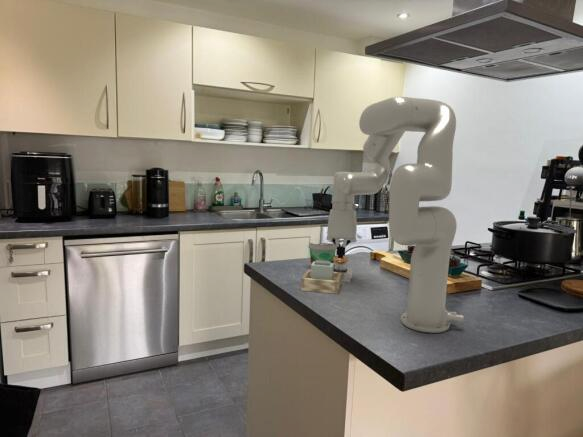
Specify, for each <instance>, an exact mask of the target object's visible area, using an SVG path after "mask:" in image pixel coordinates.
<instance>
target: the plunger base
mask: <svg viewBox="0 0 583 437" xmlns="http://www.w3.org/2000/svg"><path fill="white" fill-rule="evenodd" d="M334 272H335V266H334ZM340 273H341V283H351V280H352V276H353V275H352V273H353V268H352V267H346V273H344V272H340Z"/></svg>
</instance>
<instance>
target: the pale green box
mask: <svg viewBox="0 0 583 437" xmlns="http://www.w3.org/2000/svg"><path fill="white" fill-rule="evenodd" d="M334 267H335V262H334V263H331V261H320V260H316V261H315V262H314V261H313V263H312V265H311V264H310V270H311V279H322V280H333V272H334Z"/></svg>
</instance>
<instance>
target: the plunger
mask: <svg viewBox="0 0 583 437" xmlns="http://www.w3.org/2000/svg"><path fill="white" fill-rule="evenodd" d="M349 260H350V259H349V257H348V256H346V255H345V256H343V258H338V255H335V256H333V261H334V267H335V272H344V273H346V268H347V262H349Z"/></svg>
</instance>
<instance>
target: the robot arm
mask: <svg viewBox="0 0 583 437" xmlns="http://www.w3.org/2000/svg"><path fill="white" fill-rule="evenodd" d="M358 124H359V130H360V131H361V132H362V134H364V135H367V136H368V137H367V139H366V140H365V142H364V143H363V146H362V149H363V153H364V154H365V156H366V157H367V158H368V159H369V160H371V161H372V162H374V163H376V165H375V167H373V170H372V171H371V172H370V171H369V172H365V171H364V172H362V171H359V172H358V171H357V172H354V171H353V172H352V171H337V172H335V173H334V175H333V188H332V189H333V190H332V208H331V209H330V210H329V214H328V221H327V230H326V231H327V232H326V233H327V236H326V241H329V242H332V243H334V244H335V245H336V247H337V249H336V252H335V256H338V258H343V256H346V247H347V246H348V245H349V244H352V243H356V242H357V222H358V221H357V220H358V219H357V211H356V210H355V209H358V208H359V204H356V203H355V196H361V195H362V196H363V195H368V196H370V195H375V194H377V193H379V191H380V190H381V189H382V188H383V187H384V185H385V183H386V182H387V181H388V179H389V176H390V174H391V171H390V170H391V164H390V160H389V158H390V155H392V153H393V151H394V149H395V148H396V146H397V144H398V143H399V141H400V140H401V138H402V137H403V135H404V134H405V132H414V133H416V132H418V133H424V134H423V136H422V137H421V139H420V141H419V143H418V146H417V152H416V153H417V157H416V158H417V159H416V163H404V164H401V165H399V166H398V167H397V168H395V170H394V172H393V173H392V176H391V179H390V183H389V202H388V203H389V204H388V206H389V207H388V208H389V210H388V226H389V233H390V236H391V237H392V238H391V239H392V240H393V241H394V242H395V243H397V244H398V245H402V246H414V245H415V247H414V248H413V251H412V253H411V257H410V266H409V278H408V292H407V293H408V294H407V305H406V306H407V307H406V311H405V312H402V314H400V319H399V320H400V322H401V323H402V325H404V326H405V327H406V328H408V329H412V330H414V331H418V332H422V333H431V334H432V333H443V332H446V331H448V330H449V329H450V326H451V322H456V323H464V320H465V319H464V318H465V317H464V314H457V311H448V310H447V308H446V301H447V300H446V299H447V288H448V277H449V270H450V269H449V266H450V258H451V253H452V246H453V243H454V240H455V236H456V232H457V225H458V224H457V219H456V216H455V215H454V213H453V212H452V211H451V210H449V209H448V208H446V207H443V206H435V205H434V206H433V205H432V206H430V205H429V206H428V205H427V206H419V204H420V202H436V201H442V200H444V199H446V198H448V196H449V195H450V194H451V191H452V184H453V158H454V157H453V155H454V154H453V149H454V148H453V147H454V140H455V135H456V130H457V129H456V127H457V118H456V113H455V112H454V110H453V108H452V107H451V106H450V105H449V104H447V103H446V102H443V101H440V100H435V99H428V98H418V97H417V98H416V97H408V96H393V97H389V98H387V99H383V100H380V101H378V102H374V103H371V104H369V105H368V106H366V108H364V109H363V110H362V113H361V114H360V117H359V122H358ZM341 239H342V240H343V241H342V244H341V241H340V240H341Z"/></svg>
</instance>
